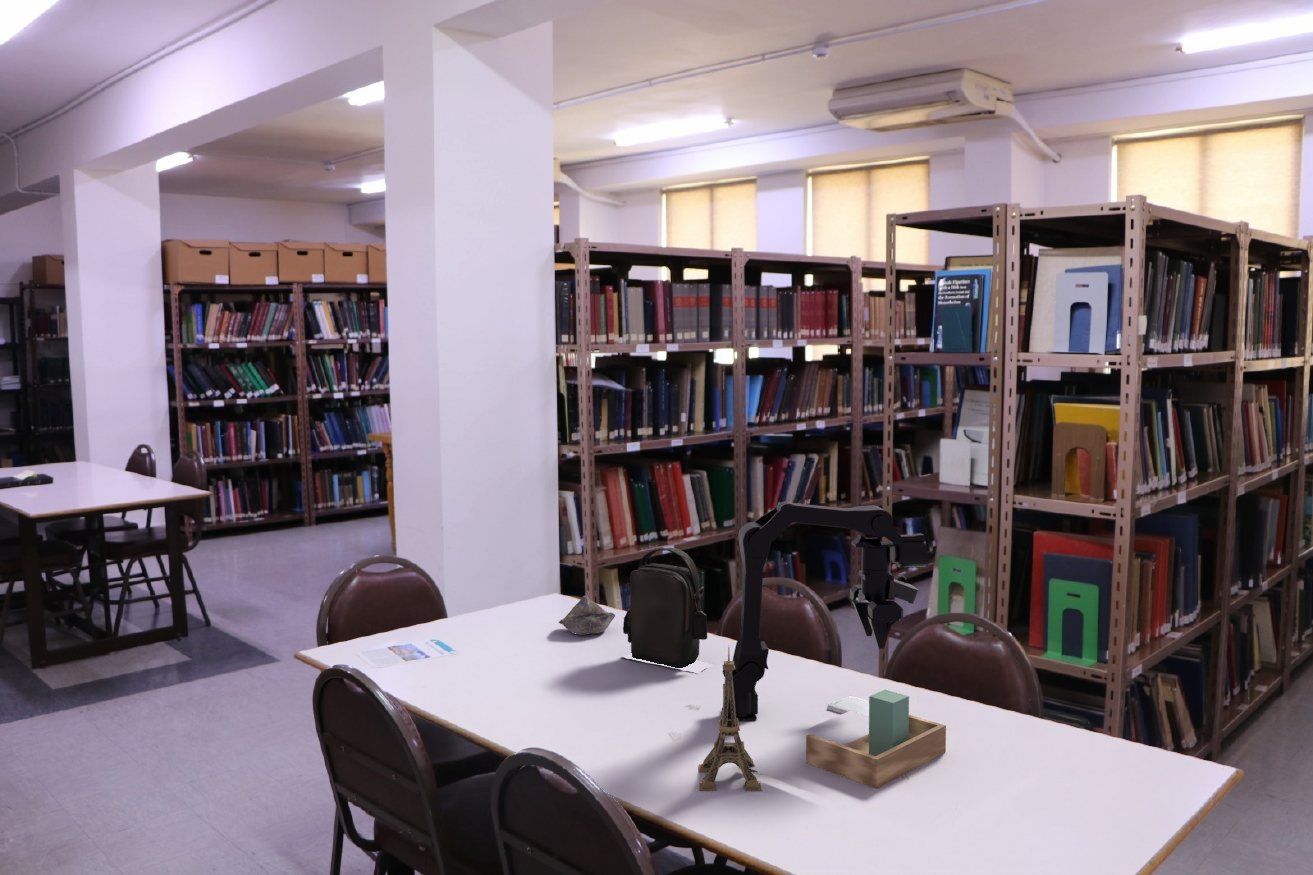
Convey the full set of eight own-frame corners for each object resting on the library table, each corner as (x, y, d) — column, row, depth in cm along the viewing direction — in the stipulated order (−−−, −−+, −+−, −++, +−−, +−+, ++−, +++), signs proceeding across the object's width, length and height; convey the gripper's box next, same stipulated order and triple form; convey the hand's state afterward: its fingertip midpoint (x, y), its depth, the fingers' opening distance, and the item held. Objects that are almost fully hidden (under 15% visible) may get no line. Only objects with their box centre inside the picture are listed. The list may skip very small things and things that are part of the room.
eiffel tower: (698, 766, 181) (698, 631, 179) (757, 766, 181) (757, 630, 178) (699, 791, 170) (698, 648, 168) (761, 791, 170) (761, 648, 168)
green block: (868, 761, 180) (869, 696, 179) (884, 753, 183) (885, 689, 182) (892, 769, 176) (893, 703, 175) (908, 761, 179) (908, 696, 178)
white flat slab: (827, 704, 209) (876, 719, 200) (851, 694, 214) (900, 709, 205) (827, 711, 209) (876, 727, 200) (851, 702, 215) (900, 717, 205)
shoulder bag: (717, 664, 240) (717, 549, 238) (697, 674, 233) (697, 555, 230) (640, 649, 253) (639, 540, 250) (619, 658, 245) (617, 546, 243)
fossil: (552, 638, 264) (551, 601, 263) (565, 624, 278) (565, 588, 277) (608, 640, 261) (608, 602, 260) (619, 625, 275) (619, 590, 274)
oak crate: (806, 768, 179) (806, 735, 179) (876, 735, 194) (876, 705, 194) (876, 794, 168) (877, 759, 168) (945, 757, 183) (946, 725, 183)
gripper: (929, 576, 196) (928, 654, 197) (900, 557, 215) (899, 628, 216) (873, 578, 195) (872, 656, 197) (849, 558, 214) (849, 630, 215)
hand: (875, 642), depth 206 cm, fingers open, 9 cm apart
